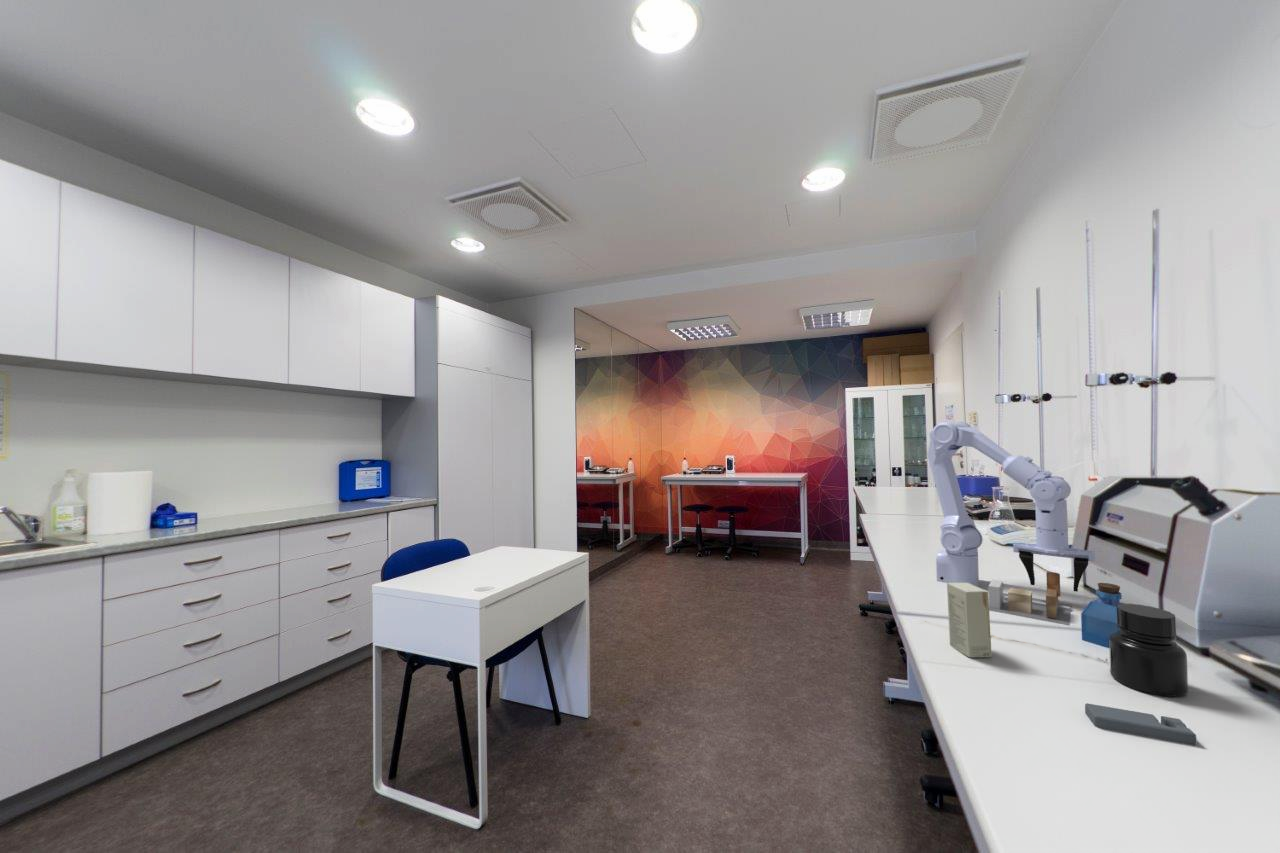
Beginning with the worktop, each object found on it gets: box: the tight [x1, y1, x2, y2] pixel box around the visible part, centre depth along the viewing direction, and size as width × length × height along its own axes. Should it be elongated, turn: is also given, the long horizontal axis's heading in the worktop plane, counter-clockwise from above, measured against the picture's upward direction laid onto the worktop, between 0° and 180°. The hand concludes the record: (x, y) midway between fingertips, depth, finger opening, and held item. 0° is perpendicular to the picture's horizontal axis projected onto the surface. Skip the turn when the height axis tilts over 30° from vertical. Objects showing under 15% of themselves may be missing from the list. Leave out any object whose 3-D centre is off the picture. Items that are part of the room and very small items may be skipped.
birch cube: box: [1007, 587, 1033, 614], centre depth 112 cm, size 4×4×4 cm
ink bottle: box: [1108, 603, 1189, 697], centre depth 81 cm, size 10×9×12 cm
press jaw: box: [1045, 571, 1061, 618], centre depth 111 cm, size 2×13×7 cm, turn 138°
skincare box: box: [946, 583, 993, 658], centre depth 94 cm, size 6×4×12 cm
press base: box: [988, 579, 1072, 627], centre depth 113 cm, size 14×16×6 cm
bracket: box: [1084, 703, 1197, 746], centre depth 69 cm, size 4×10×2 cm, turn 65°
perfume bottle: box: [1080, 582, 1126, 649], centre depth 94 cm, size 6×6×12 cm
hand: (1053, 587), depth 115 cm, fingers open, 7 cm apart
